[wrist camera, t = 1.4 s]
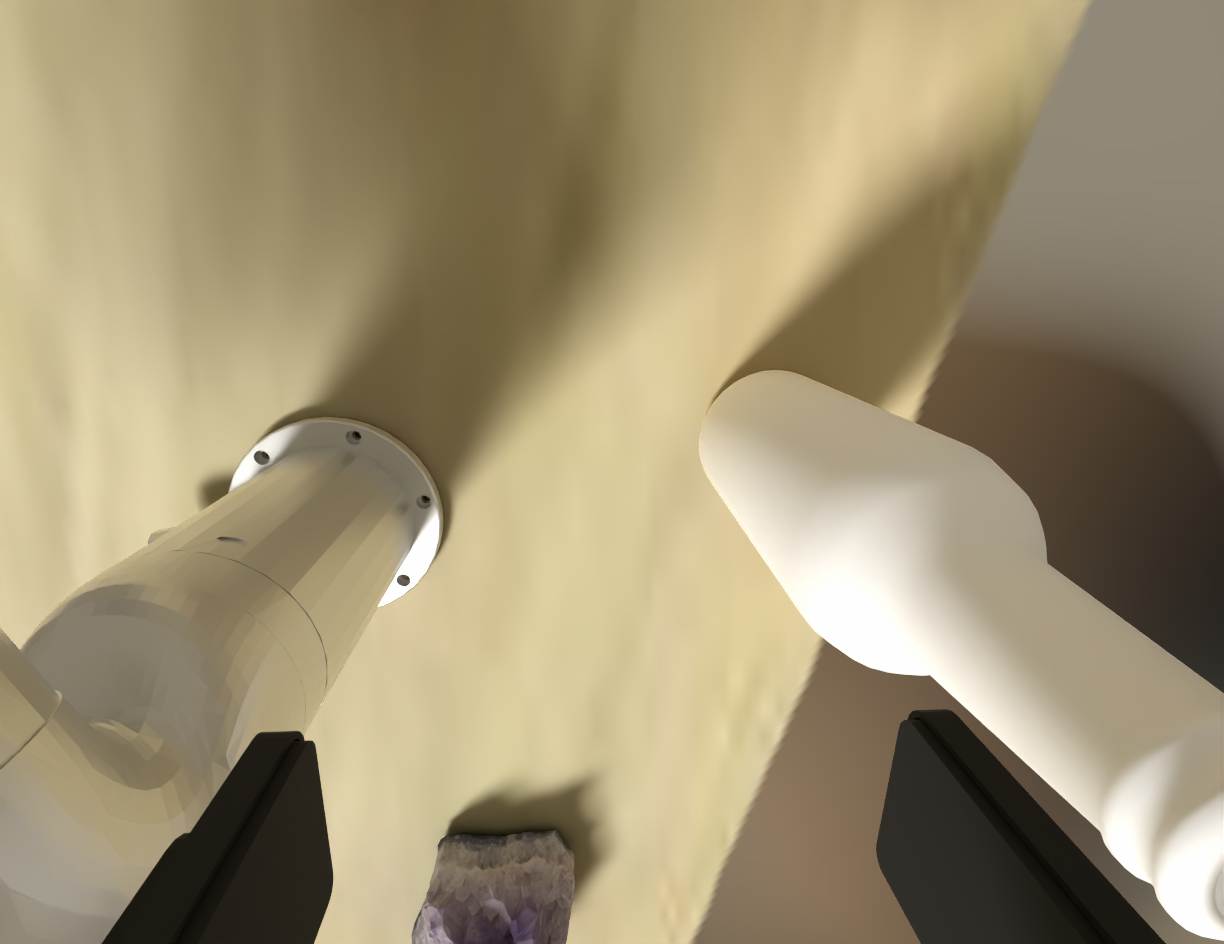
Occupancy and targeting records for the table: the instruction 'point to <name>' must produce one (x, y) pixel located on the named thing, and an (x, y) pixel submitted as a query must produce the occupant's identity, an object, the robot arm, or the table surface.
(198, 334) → the table surface
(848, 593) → the alcohol
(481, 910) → the geode
